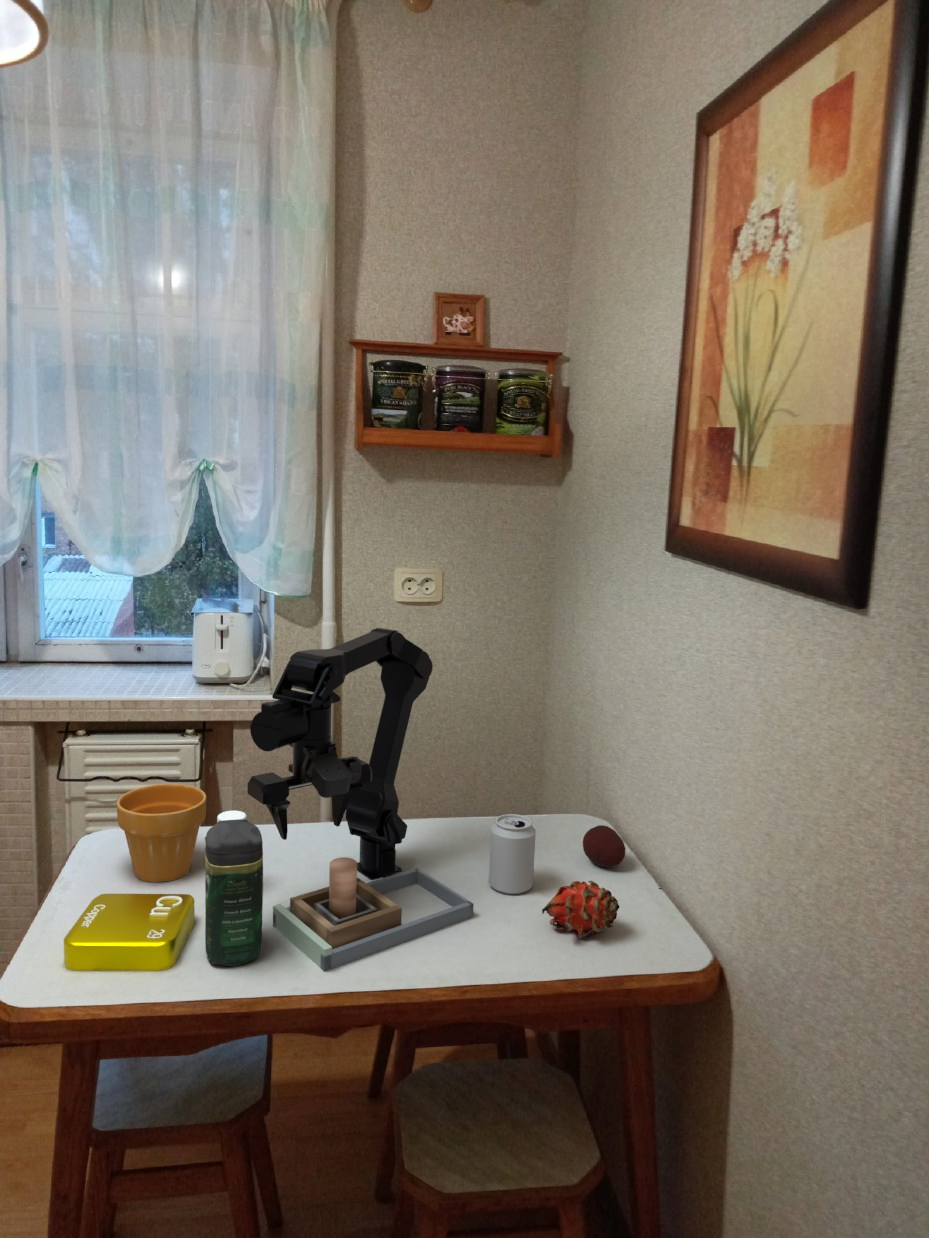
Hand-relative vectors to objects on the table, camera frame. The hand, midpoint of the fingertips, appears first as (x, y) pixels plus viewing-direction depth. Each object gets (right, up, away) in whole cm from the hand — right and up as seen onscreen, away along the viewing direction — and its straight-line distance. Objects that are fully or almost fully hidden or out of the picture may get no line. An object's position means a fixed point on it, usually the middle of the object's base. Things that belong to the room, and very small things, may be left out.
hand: (310, 832), depth 138 cm
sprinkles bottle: (-14, -12, +7) cm, 19 cm away
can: (+31, -13, +13) cm, 36 cm away
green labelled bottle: (-9, -15, -10) cm, 20 cm away
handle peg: (+5, -13, -5) cm, 15 cm away
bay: (+10, -14, -1) cm, 17 cm away
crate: (+6, -14, -4) cm, 16 cm away
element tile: (-24, -14, -9) cm, 30 cm away
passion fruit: (+49, -12, +23) cm, 55 cm away
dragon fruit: (+41, -15, -1) cm, 44 cm away
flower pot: (-27, -10, +14) cm, 32 cm away
